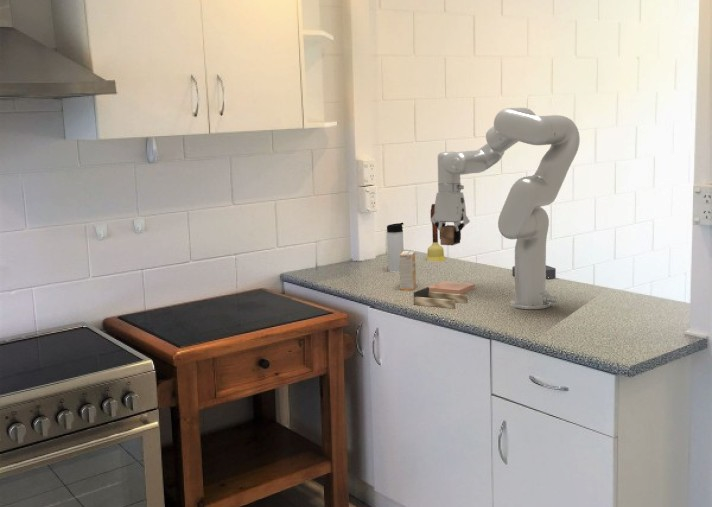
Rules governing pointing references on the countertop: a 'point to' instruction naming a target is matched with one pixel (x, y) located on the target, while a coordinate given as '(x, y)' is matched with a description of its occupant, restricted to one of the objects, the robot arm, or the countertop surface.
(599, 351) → the countertop surface
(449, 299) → the birch chute
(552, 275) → the streaming box
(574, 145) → the robot arm
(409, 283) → the supplement box
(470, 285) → the terracotta tile
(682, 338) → the countertop surface
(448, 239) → the walnut block
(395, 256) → the travel mug
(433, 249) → the handbell
